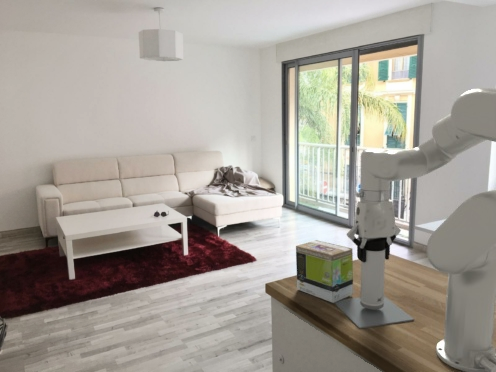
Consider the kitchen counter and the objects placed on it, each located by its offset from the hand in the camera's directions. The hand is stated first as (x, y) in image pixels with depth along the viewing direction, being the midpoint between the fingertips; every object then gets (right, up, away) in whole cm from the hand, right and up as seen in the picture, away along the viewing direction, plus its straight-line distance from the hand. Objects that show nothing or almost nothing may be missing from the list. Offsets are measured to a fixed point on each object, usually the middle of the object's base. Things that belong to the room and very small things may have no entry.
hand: (373, 258), depth 114 cm
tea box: (-11, -13, +15) cm, 23 cm away
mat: (0, -15, +3) cm, 15 cm away
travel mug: (0, -14, +2) cm, 14 cm away
